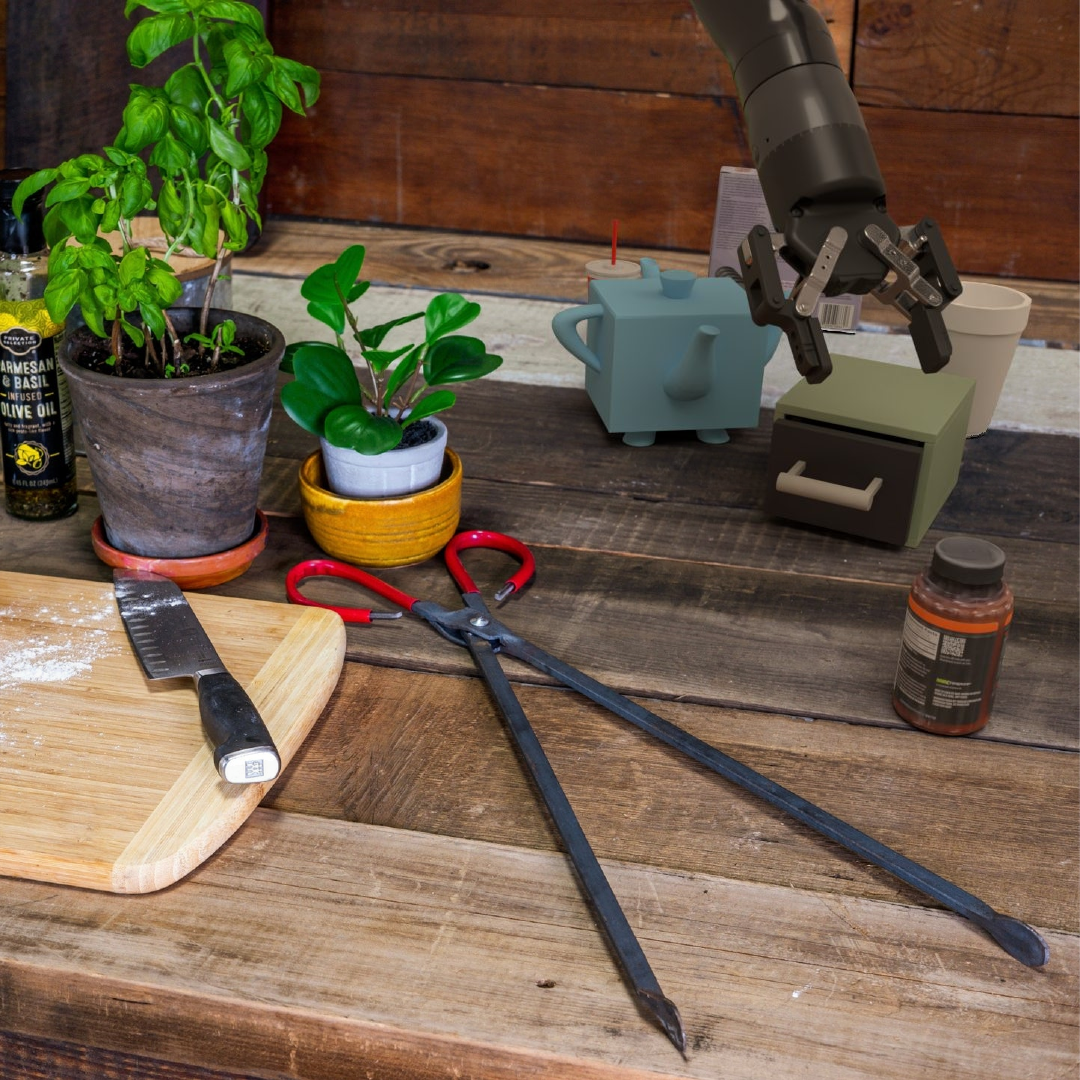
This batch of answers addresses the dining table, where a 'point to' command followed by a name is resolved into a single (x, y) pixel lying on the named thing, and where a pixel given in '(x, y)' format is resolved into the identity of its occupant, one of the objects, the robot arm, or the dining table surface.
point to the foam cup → (984, 342)
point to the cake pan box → (748, 208)
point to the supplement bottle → (954, 638)
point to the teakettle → (670, 353)
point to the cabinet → (895, 418)
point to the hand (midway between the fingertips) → (880, 373)
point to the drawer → (843, 478)
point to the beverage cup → (612, 265)
